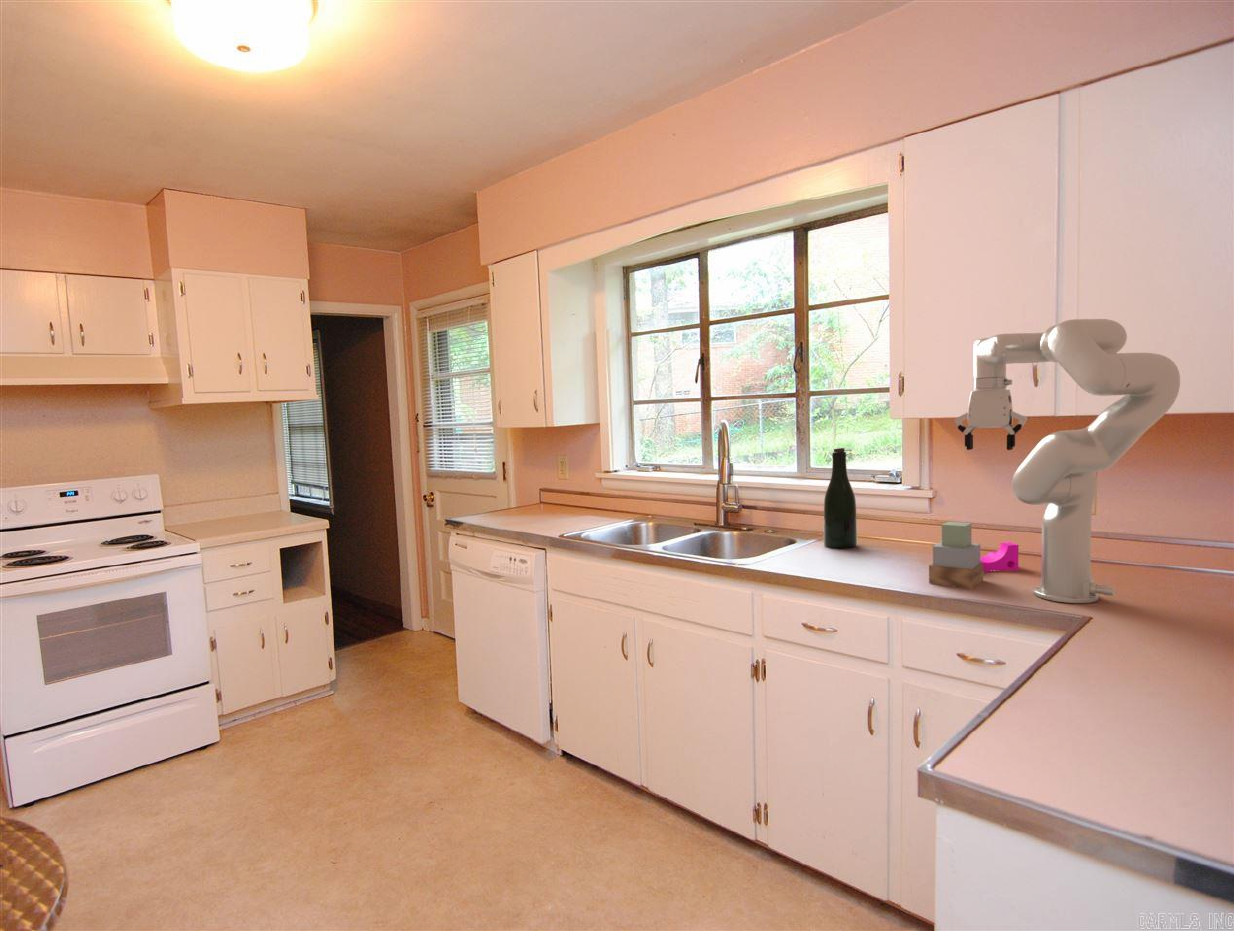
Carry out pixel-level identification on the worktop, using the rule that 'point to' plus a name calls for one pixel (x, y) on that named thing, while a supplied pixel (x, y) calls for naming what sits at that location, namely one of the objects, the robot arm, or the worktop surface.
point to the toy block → (1002, 558)
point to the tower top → (956, 556)
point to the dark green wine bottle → (840, 507)
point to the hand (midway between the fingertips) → (989, 449)
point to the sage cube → (956, 534)
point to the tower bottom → (956, 576)
